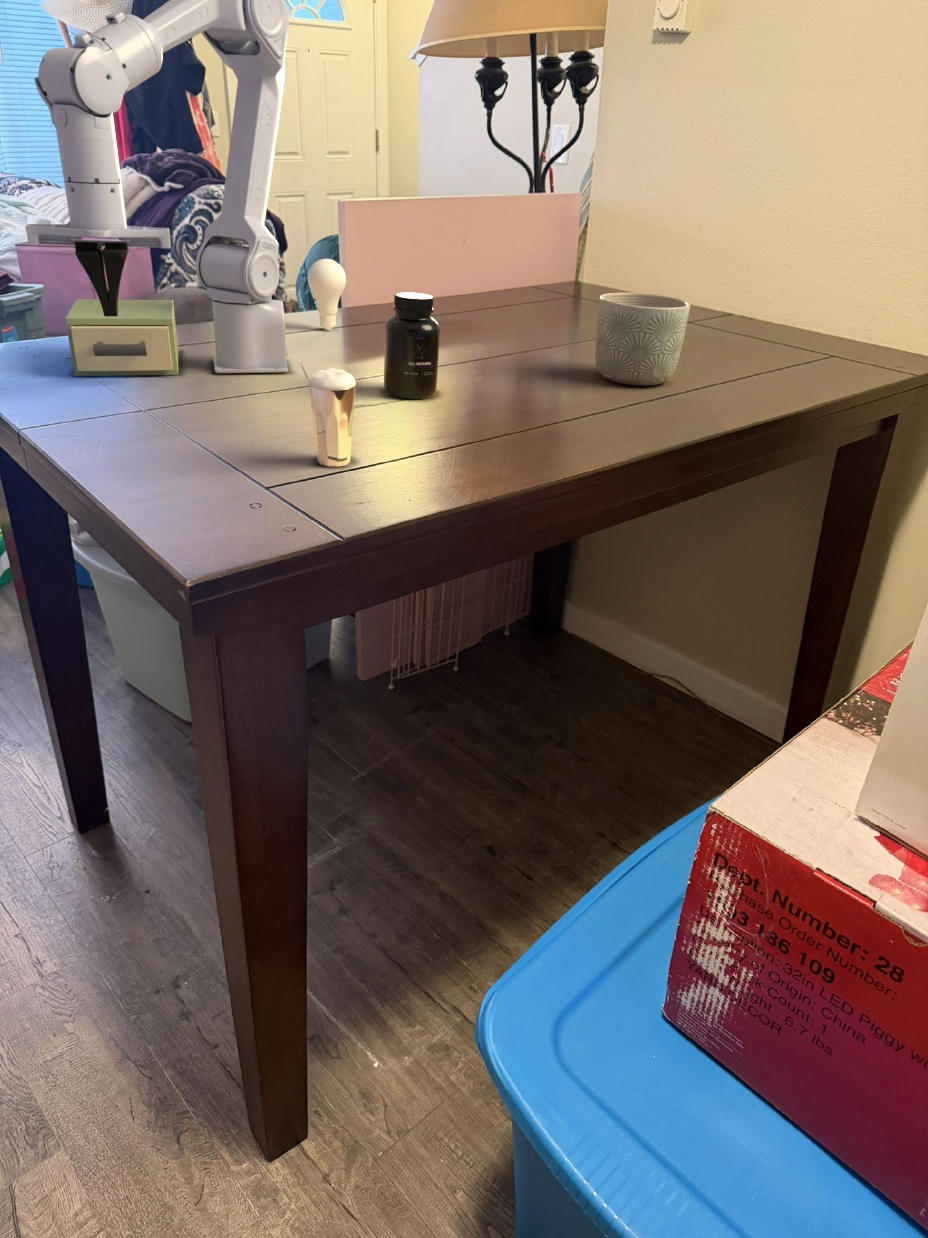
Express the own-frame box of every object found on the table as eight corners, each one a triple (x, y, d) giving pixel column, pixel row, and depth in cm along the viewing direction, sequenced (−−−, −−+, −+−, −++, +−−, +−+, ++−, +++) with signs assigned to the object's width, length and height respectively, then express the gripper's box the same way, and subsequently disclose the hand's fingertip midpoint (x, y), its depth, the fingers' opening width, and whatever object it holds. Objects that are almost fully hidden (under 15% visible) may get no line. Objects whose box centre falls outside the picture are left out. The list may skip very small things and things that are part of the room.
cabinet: (178, 374, 114) (172, 318, 111) (74, 376, 111) (65, 318, 107) (178, 351, 125) (172, 299, 122) (84, 352, 122) (76, 298, 119)
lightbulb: (339, 335, 141) (338, 262, 136) (304, 331, 142) (301, 259, 137) (351, 328, 146) (350, 258, 141) (316, 324, 147) (314, 254, 142)
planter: (573, 376, 125) (582, 296, 119) (621, 365, 133) (632, 289, 128) (646, 395, 118) (659, 311, 112) (692, 382, 126) (707, 302, 121)
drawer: (172, 378, 109) (167, 334, 106) (74, 379, 106) (66, 334, 103) (173, 348, 123) (169, 309, 120) (86, 349, 120) (80, 308, 117)
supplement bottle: (417, 403, 108) (420, 302, 102) (373, 393, 111) (373, 294, 105) (447, 392, 113) (451, 295, 107) (404, 383, 116) (406, 288, 110)
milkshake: (304, 453, 89) (300, 354, 85) (356, 454, 90) (356, 356, 85) (301, 468, 85) (297, 365, 81) (355, 469, 86) (355, 367, 81)
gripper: (12, 181, 87) (37, 321, 94) (163, 187, 91) (177, 321, 98) (22, 176, 93) (45, 309, 100) (164, 182, 97) (177, 309, 104)
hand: (111, 314), depth 99 cm, fingers closed
